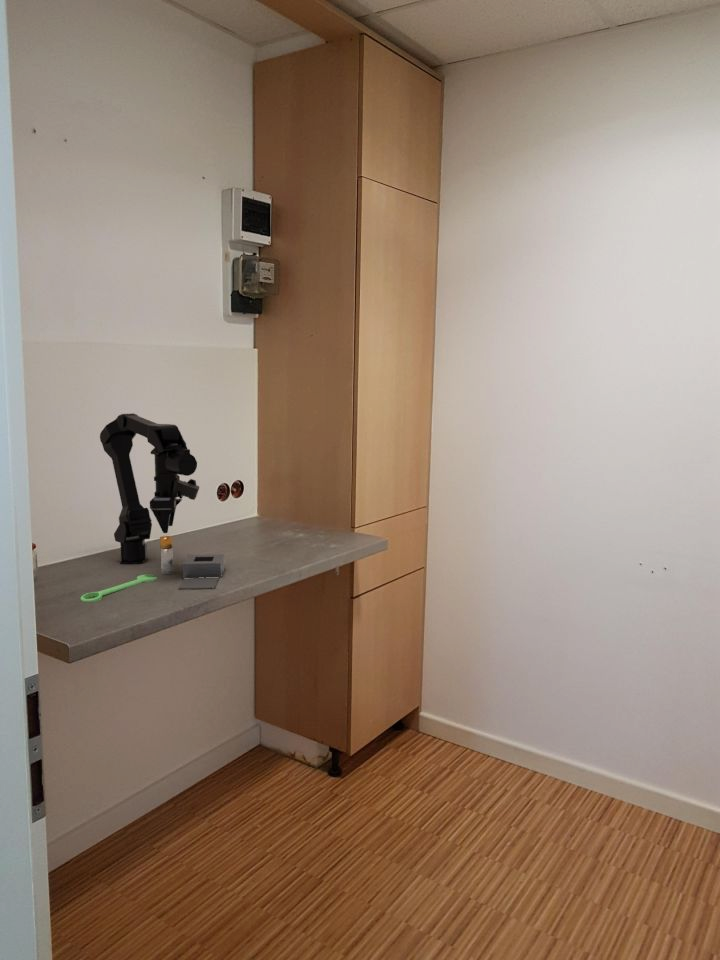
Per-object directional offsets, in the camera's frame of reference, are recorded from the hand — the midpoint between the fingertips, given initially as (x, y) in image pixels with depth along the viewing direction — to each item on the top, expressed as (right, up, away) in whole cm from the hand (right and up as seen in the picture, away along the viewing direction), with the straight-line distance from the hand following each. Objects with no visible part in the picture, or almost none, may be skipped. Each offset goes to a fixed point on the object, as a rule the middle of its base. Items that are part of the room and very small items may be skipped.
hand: (167, 529), depth 214 cm
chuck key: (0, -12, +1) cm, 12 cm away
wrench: (-9, -15, -14) cm, 22 cm away
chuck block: (+10, -12, +1) cm, 15 cm away
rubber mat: (+10, -14, -10) cm, 20 cm away
